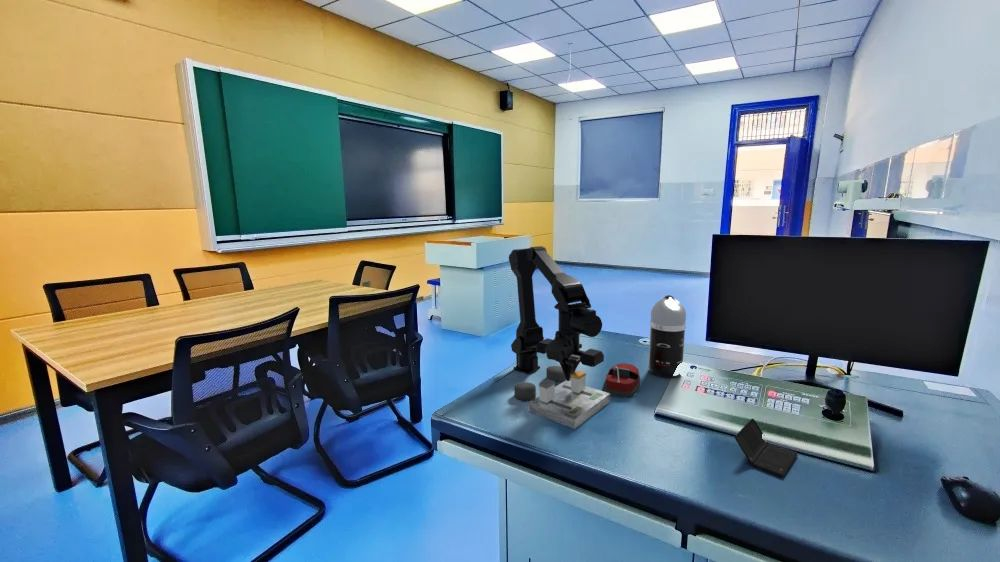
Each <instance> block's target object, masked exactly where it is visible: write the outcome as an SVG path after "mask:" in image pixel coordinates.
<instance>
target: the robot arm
mask: <svg viewBox="0 0 1000 562" xmlns="http://www.w3.org/2000/svg"><path fill="white" fill-rule="evenodd" d="M508 263H510V270H511V271H512V273H513V274H514V276H515V277H516V283H517V296H518V308H519V309H518V310H519V319H520V321H519V324H518V326H517V328H516V332H515V339H514V340H513V342H512V343H511V345H510V348H511V351H512V353H514V354H516V355H515V359H516V364H515V365H516V366H514V367H513V370H515V371H518V372H521V373H525V374H529V375H530V374H531V373H533V372H535V371H537V370H539V369H540V368H541V366H540V365H539V356H538V353H539V354H542V355H546V358H547V359H548V360H551V361H555V362H558V363H559V364H560V365H559V366H560V367H562V370H563V372H564V375H565V378H566V381H571V374H573V373H574V372H576V371H577V368H578V366H579V365H580V363H581V364H582V365H583V366H587V367H592V368H594V367H597V366H598V365H599V364H601V363H602V362H605V359H604V358H605V355H604V352H602V350H599V349H598V350H597V349H594V348H589V349H587V350H580V349H582V348H583V344H582V343H580V336H581V335H584V336H585V337H586V336H587V337H589V338H595V337H597V336H598V335H599V334H600V333H601V331H602V329H603V322H602V319H601V317H600V316H598V315H597V310H595V309H591V308H592V304H591V302H590V301H591V300H590V299H589V297H588V295H587V293H586V290H585V289H584V285H583V284H582V283H581V282H580V281H579V280H578V279H577V278H575V277H574V276H572V275H569V274H567V273H565V272H564V270H562V269H561V267H560V266H559V265H558V264H557V262H556V261H555V260H554V259H553V258H552V257H551V255H550V254H549V253H548V252H547V249H546V247H544V246H541V245H540V246H539V245H538V246H531V247H529V248H528V247H527V248H518V249H516V248H515V249H513V250H512V251H511V252H510V254H508ZM536 269H538V270H539V271H540V273H541V274H542V275H543V276H544V278H546V280H547V281H548V284H550V286H551V294H552V296H553V298H554V299H555V301H556V302H557V303H556V304H555V305H554V306H553V308H554V309H555V310H558V330H556V331H555V334H554V335H555V336H554V339H551V338H545V337H544V329H543V327H542V326H540V325H539V323H538V322H537V320H536V319H537V318H536V310H535V309H536V307H535V296H534V294H535V293H534V283H533V275H534V273H535V271H536Z"/></svg>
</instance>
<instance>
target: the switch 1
mask: <svg viewBox="0 0 1000 562" xmlns="http://www.w3.org/2000/svg"><path fill="white" fill-rule="evenodd" d="M555 387H556V383H555V381H553V380H550V379H547V378H546V379H545V380H543V381H540V382H539V383H538V388H539V389H538V390H539V391H538V392H539V396H538V397H539V400H540V401H542V402H545V403H548V402H549V401H551V400H553V399H554V398H555Z"/></svg>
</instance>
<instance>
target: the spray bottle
mask: <svg viewBox="0 0 1000 562" xmlns="http://www.w3.org/2000/svg"><path fill="white" fill-rule="evenodd" d="M686 317H687V313H686V310H685V308H684V305H683V304H682V303H681V302H680V301H679V300H678V299H676V298H674V296H672V295H669V294H668V295H665V296H664V297H662V298H661V299H659V300H658V301H657V302H655V304H654V305H653V306H652V308H651V311H650V324H649V326H650V331H649V332H650V334H649V349H648V350H649V354H648V369H649V372H651V373H652V374H653V375H655V376H658V377H661V378H673V377H672V376H673V374H674V372H675V370H676V368H677V366H678V365H679V364H680V363H682V362H684V352H685V351H684V348H685V332H686V328H687V327H686V320H687V318H686Z"/></svg>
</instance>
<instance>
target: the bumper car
mask: <svg viewBox="0 0 1000 562" xmlns="http://www.w3.org/2000/svg"><path fill="white" fill-rule="evenodd" d="M640 388H641V376H640V370H639V368H638V367H637V366H635V365H633V364H631V363H627V362H624V363H623V362H622V363H617V364H615V365H613V366H611V367H610V369H609V370H608V372H607V373H606V374H605V379H604V383H603V389H604V390H603V391H604V392H607V393H610V397H611V396H612V397H615V398H616V397H617V398H623V399H624V398H626V399H629V398H632V397H634V396H636V394H637V393H638V392H639V390H640Z"/></svg>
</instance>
